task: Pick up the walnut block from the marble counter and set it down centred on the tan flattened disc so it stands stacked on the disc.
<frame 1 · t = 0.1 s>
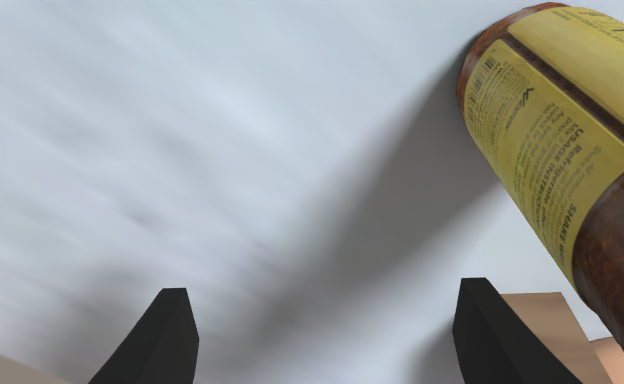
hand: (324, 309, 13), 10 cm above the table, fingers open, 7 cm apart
walnut block: (511, 320, 28), on the table
sauce bottle: (530, 70, 20), on the table
tan flattened disc: (604, 381, 31), on the table
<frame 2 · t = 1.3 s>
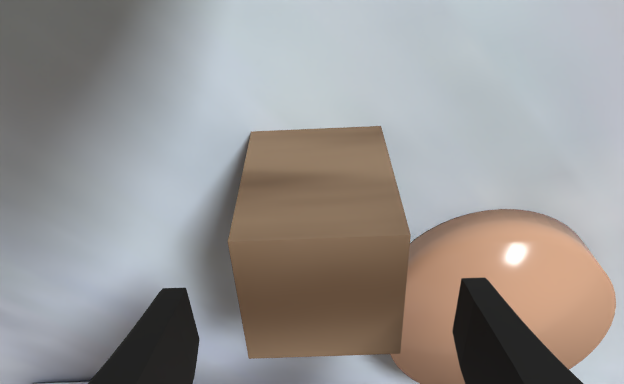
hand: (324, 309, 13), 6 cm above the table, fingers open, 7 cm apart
walnut block: (318, 182, 18), on the table
tan flattened disc: (483, 292, 21), on the table
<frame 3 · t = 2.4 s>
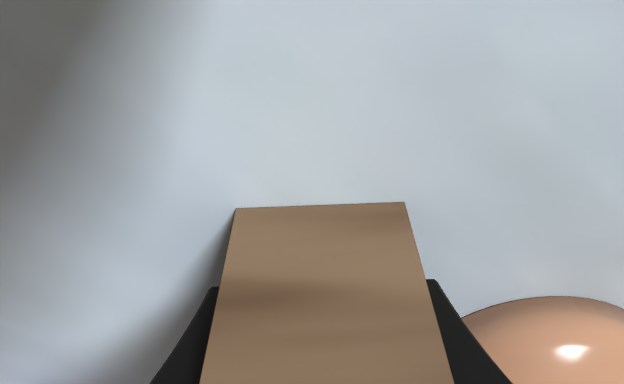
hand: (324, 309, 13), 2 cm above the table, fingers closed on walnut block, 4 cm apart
walnut block: (322, 267, 14), on the table, touching gripper
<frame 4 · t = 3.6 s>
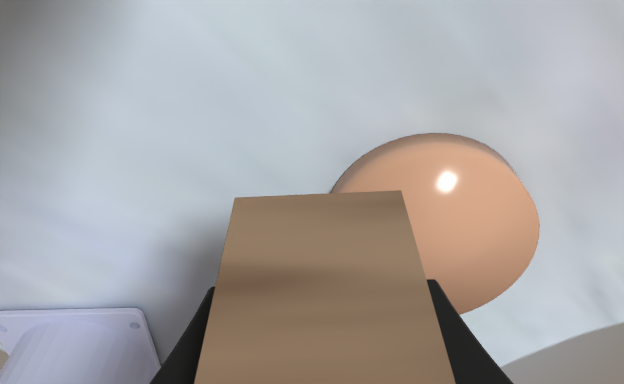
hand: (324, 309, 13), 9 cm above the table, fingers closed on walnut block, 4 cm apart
walnut block: (321, 256, 15), point 7 cm above the table, touching gripper
tan flattened disc: (421, 220, 23), on the table
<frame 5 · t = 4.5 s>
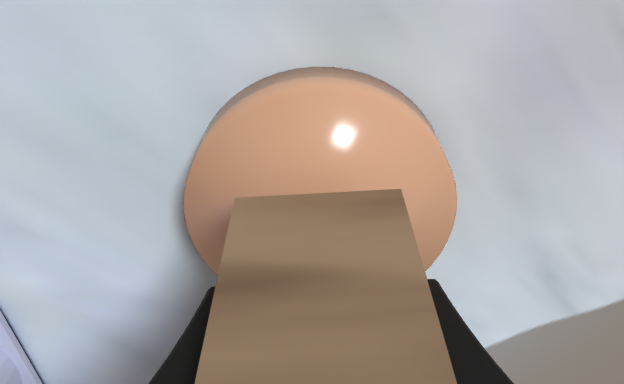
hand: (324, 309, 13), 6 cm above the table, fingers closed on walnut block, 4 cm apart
walnut block: (321, 256, 15), point 4 cm above the table, touching gripper
tan flattened disc: (319, 185, 18), on the table
when the fingers open (5 cm above the table, at t = 5.2 s): walnut block stays where it is, resting on tan flattened disc.
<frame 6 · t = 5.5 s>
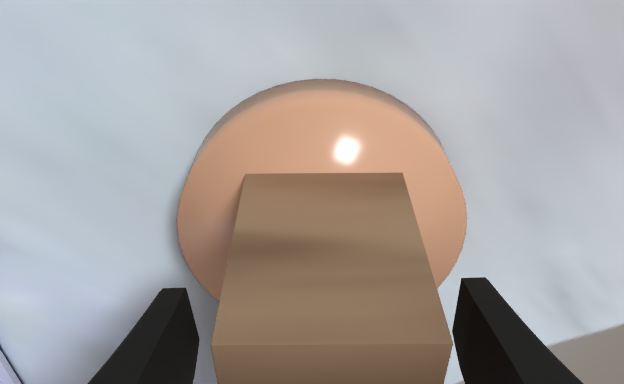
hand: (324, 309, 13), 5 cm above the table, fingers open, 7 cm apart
walnut block: (323, 234, 15), point 2 cm above the table, touching tan flattened disc
tan flattened disc: (320, 202, 17), on the table
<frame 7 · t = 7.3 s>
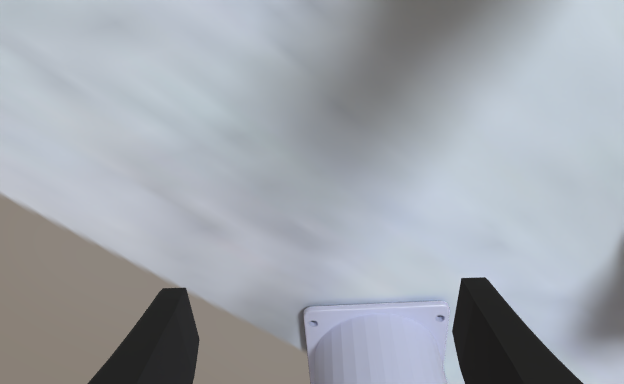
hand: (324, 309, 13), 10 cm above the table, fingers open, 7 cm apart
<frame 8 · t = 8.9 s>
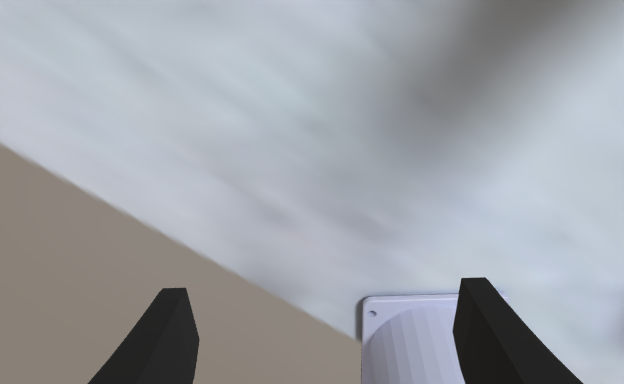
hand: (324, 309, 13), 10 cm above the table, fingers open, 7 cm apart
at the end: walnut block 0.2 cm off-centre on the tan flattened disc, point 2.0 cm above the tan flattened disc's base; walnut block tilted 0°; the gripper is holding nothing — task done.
